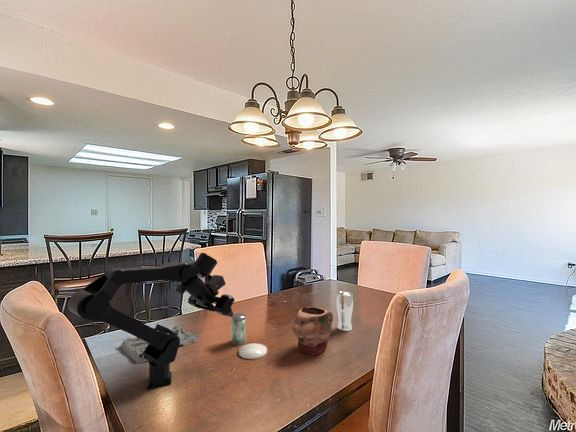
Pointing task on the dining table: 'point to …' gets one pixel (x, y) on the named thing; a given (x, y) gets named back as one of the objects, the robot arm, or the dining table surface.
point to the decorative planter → (313, 329)
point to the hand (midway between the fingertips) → (223, 312)
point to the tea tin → (238, 329)
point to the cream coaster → (253, 351)
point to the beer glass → (344, 310)
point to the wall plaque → (137, 345)
